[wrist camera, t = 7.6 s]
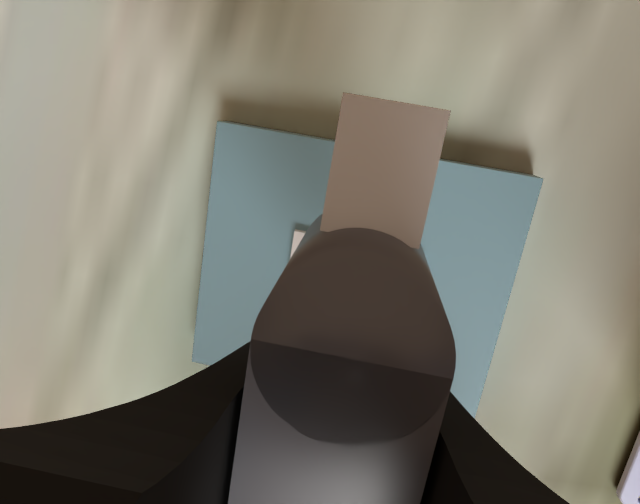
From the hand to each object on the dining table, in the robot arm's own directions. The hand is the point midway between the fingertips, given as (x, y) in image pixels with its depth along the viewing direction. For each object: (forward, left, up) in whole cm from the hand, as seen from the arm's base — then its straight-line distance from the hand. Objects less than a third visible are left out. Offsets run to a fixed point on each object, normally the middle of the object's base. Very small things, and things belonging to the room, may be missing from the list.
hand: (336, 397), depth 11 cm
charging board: (0, 0, -10) cm, 10 cm away
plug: (0, -1, -2) cm, 2 cm away
